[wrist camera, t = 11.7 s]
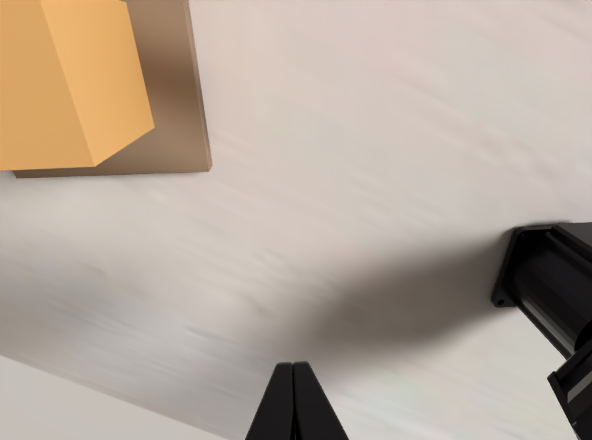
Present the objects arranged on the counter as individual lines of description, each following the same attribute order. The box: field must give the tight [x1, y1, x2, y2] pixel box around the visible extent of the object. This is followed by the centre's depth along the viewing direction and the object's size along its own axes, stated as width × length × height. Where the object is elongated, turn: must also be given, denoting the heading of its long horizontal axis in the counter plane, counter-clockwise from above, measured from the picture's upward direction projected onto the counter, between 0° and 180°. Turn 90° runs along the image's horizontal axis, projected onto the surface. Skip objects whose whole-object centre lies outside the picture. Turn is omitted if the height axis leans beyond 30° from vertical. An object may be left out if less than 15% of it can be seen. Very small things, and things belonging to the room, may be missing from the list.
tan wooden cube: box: [0, 0, 155, 171], centre depth 12 cm, size 5×5×6 cm
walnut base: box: [13, 0, 212, 178], centre depth 15 cm, size 10×10×1 cm
